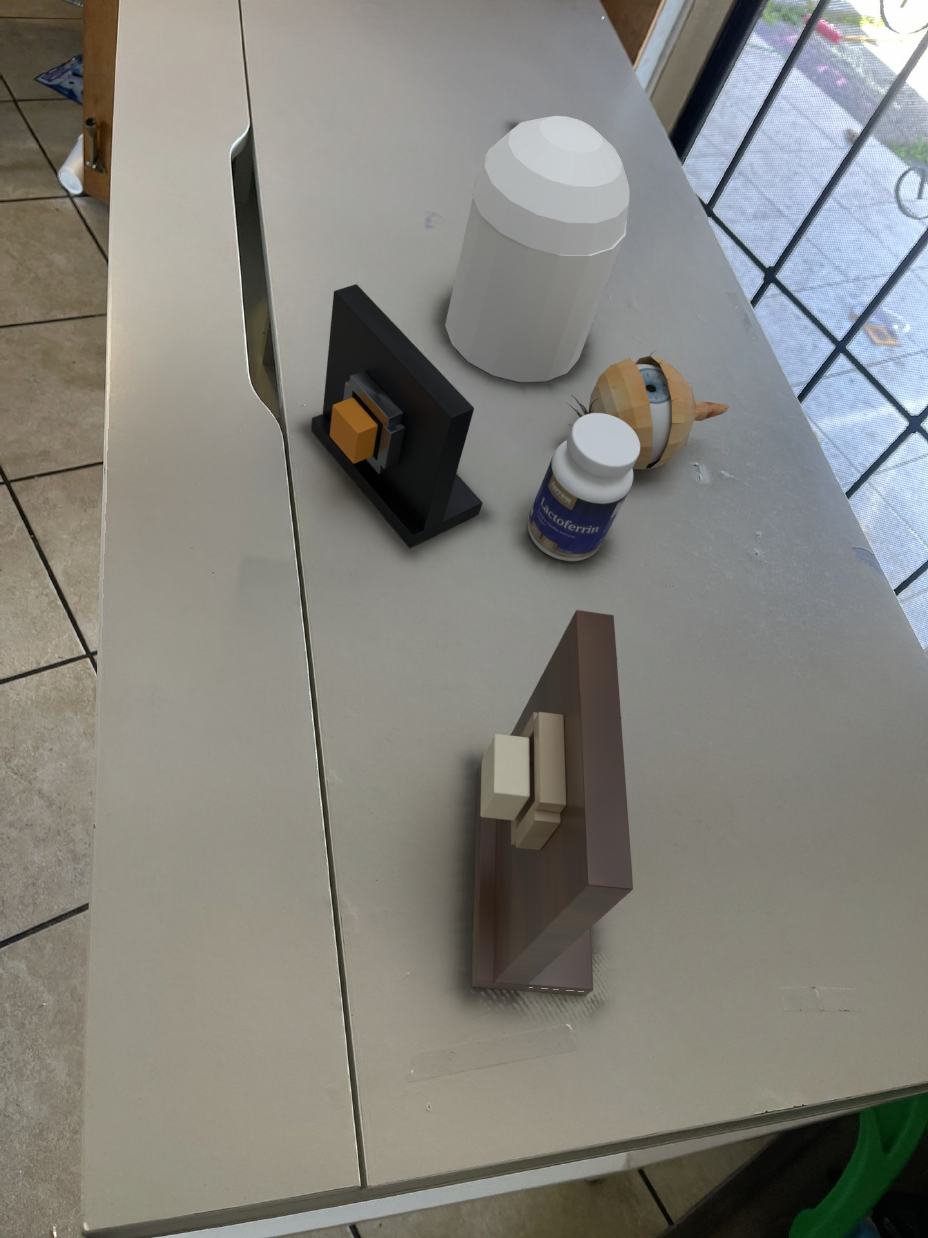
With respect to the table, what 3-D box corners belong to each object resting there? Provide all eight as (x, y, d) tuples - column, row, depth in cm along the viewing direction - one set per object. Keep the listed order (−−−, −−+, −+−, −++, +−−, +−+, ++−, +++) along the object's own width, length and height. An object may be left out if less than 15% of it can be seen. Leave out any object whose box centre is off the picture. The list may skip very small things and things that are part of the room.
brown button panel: (466, 986, 54) (557, 882, 38) (472, 767, 62) (550, 605, 46) (585, 996, 55) (723, 898, 39) (577, 779, 63) (689, 625, 47)
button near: (479, 817, 47) (493, 792, 44) (481, 760, 48) (494, 733, 46) (514, 821, 47) (530, 796, 44) (514, 763, 49) (529, 737, 46)
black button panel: (406, 550, 71) (436, 424, 60) (307, 431, 76) (317, 295, 65) (479, 514, 74) (519, 389, 63) (379, 403, 79) (401, 269, 68)
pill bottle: (515, 545, 73) (553, 448, 64) (538, 492, 77) (576, 394, 68) (590, 576, 73) (637, 483, 64) (609, 521, 77) (657, 426, 68)
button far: (353, 464, 68) (357, 433, 65) (329, 436, 69) (332, 404, 66) (373, 455, 68) (378, 424, 66) (349, 428, 69) (353, 396, 67)
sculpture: (554, 348, 75) (730, 315, 76) (546, 414, 84) (705, 384, 85) (583, 444, 72) (767, 408, 73) (571, 502, 80) (737, 470, 81)
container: (481, 393, 82) (539, 185, 66) (421, 297, 88) (460, 84, 72) (605, 369, 88) (687, 171, 71) (540, 280, 93) (602, 77, 77)
